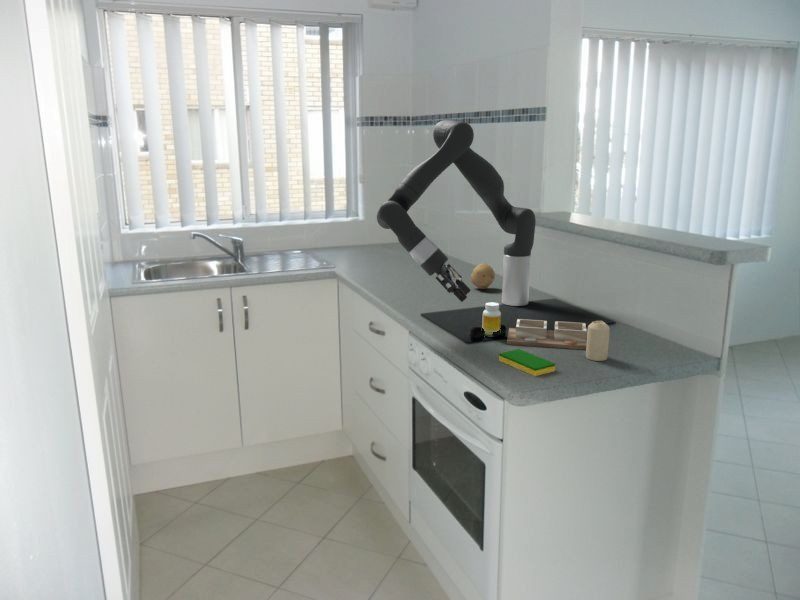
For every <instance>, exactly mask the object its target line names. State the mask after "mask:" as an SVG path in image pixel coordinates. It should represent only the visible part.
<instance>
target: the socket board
mask: <svg viewBox="0 0 800 600" xmlns="http://www.w3.org/2000/svg"><path fill="white" fill-rule="evenodd" d="M586 325H587V324H586V322H574V321H558V320H555V321H554V330H547V326H548V321H547V320H542V319H540V320H539V319H525V318H517V319H516V326H515V328H514V327H509V328H508V332H507V339H506V345H514V346H529V347H542V348H557V349H558V348H559V349H569V350H570V349H571V350H572V349H573V350H585V351H586V346H587V333H588V329H587V326H586Z"/></svg>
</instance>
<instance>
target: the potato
mask: <svg viewBox="0 0 800 600" xmlns="http://www.w3.org/2000/svg"><path fill="white" fill-rule="evenodd" d="M495 275H496V273H495V271H494V269H493V267H492V266H491V265H490V264H488V263H480V264H478V265H477V266H475V267H474V268H473V270H472V272H471V275H470V279H469V280H470V282H471V283H472V284H473V286H475V287H477V288H478V289H479V290H485V289H487V288H489V287H490V286H491V285H492V284H493V282H494V281H495V277H496V276H495Z"/></svg>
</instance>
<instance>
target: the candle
mask: <svg viewBox="0 0 800 600" xmlns="http://www.w3.org/2000/svg"><path fill="white" fill-rule="evenodd" d="M610 329H611V328H610V326H609V325H608V324H607V323H606V322H604V321H603V320H594V321H592V322H590V324H588V326H587V346H586V350H585V358H586V359H588V360H590V361H596V362H603V361H604V362H605V361H606V360H607V359H608V354H609V344H610V343H609V342H610Z"/></svg>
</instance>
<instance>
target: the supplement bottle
mask: <svg viewBox="0 0 800 600" xmlns="http://www.w3.org/2000/svg"><path fill="white" fill-rule="evenodd" d="M484 307H485V309H484V310H483V312H482V320H481V321H482V322H481V323H482V325H481V329H482V328H483V329H484V331H485V334H486V335H492V334H493V332H497V331H499V330H500V331H501V329H500V328H501V327H502V326H501V325H502V323H501V321H502V312H501V311H500V303H498V302H493V301H491V302H486V303H485V305H484Z"/></svg>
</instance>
